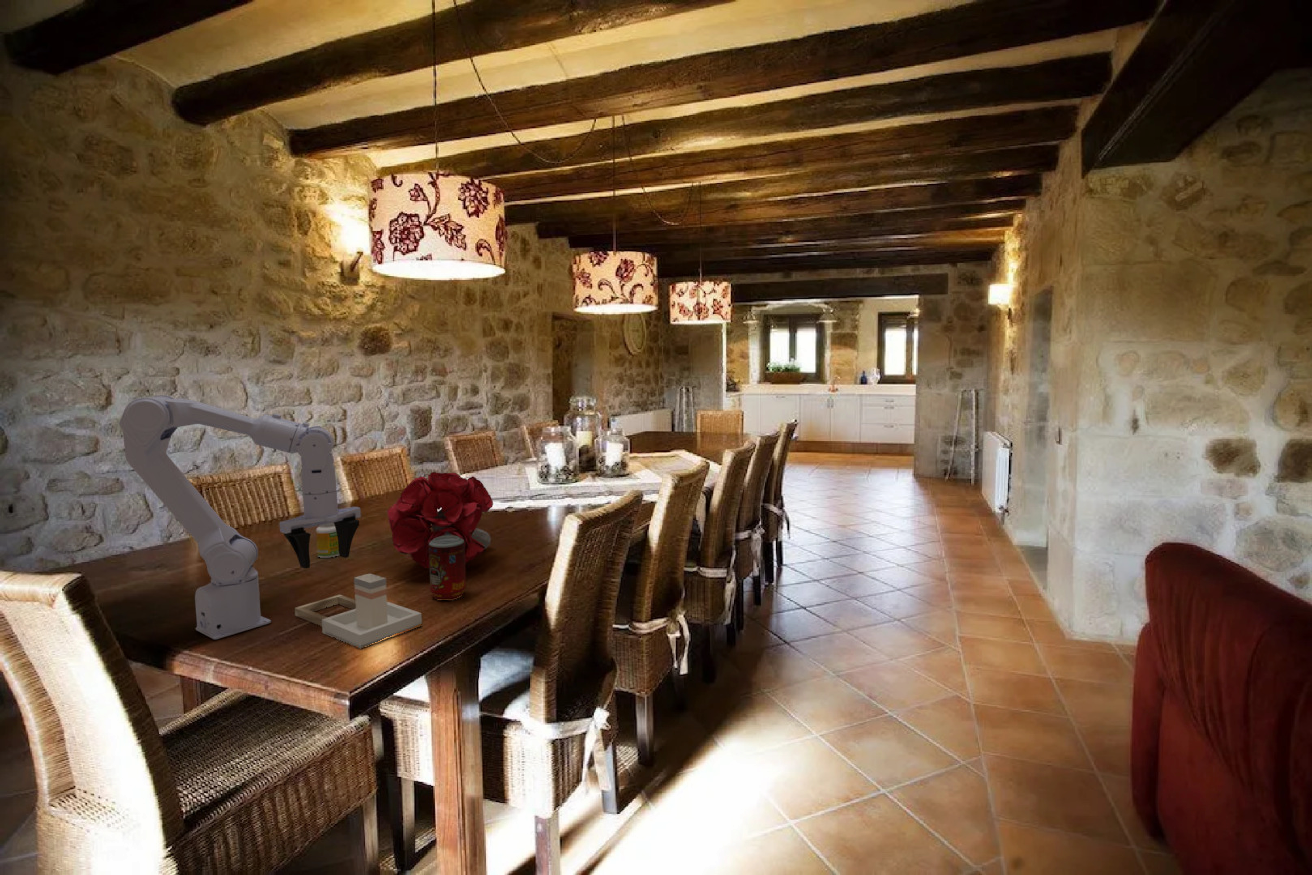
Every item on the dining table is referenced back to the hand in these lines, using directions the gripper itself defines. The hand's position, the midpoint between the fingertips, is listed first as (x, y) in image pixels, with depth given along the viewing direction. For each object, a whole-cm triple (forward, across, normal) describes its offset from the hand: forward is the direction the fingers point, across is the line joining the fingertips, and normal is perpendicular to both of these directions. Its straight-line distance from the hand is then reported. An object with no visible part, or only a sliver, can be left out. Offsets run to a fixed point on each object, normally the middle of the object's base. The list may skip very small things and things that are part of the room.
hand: (325, 561), depth 125 cm
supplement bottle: (+11, +22, +38) cm, 45 cm away
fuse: (+10, 0, -14) cm, 17 cm away
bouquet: (+11, +34, +7) cm, 36 cm away
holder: (+10, 0, -1) cm, 10 cm away
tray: (+11, 0, -14) cm, 17 cm away
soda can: (+11, +20, -11) cm, 25 cm away
